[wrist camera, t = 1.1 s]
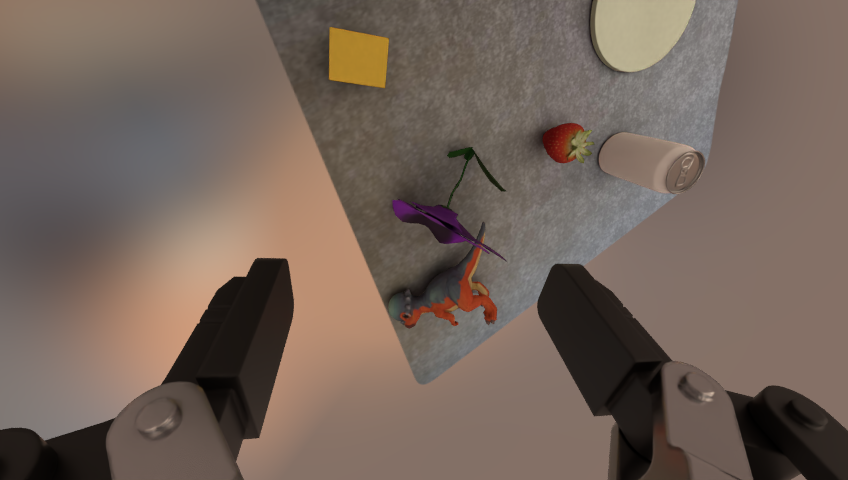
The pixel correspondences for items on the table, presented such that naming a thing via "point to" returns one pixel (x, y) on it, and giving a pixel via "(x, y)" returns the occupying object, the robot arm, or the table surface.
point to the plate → (637, 30)
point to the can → (652, 162)
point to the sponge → (357, 57)
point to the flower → (444, 211)
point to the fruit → (567, 143)
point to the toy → (447, 293)
